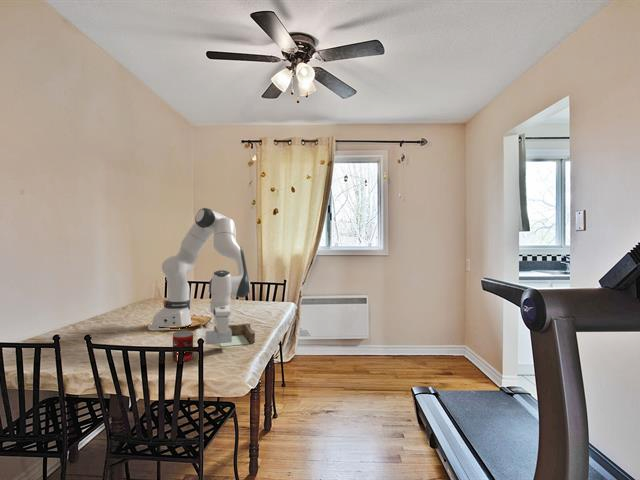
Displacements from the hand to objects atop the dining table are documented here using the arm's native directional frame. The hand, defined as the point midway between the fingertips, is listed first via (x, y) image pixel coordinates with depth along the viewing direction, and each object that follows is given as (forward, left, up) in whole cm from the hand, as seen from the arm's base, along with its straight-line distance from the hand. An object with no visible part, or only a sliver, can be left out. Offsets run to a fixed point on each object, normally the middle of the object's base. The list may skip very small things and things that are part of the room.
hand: (219, 338), depth 162 cm
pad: (+8, +12, -6) cm, 16 cm away
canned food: (-16, -5, -6) cm, 18 cm away
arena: (+9, +14, -6) cm, 18 cm away
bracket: (0, +2, -2) cm, 3 cm away
